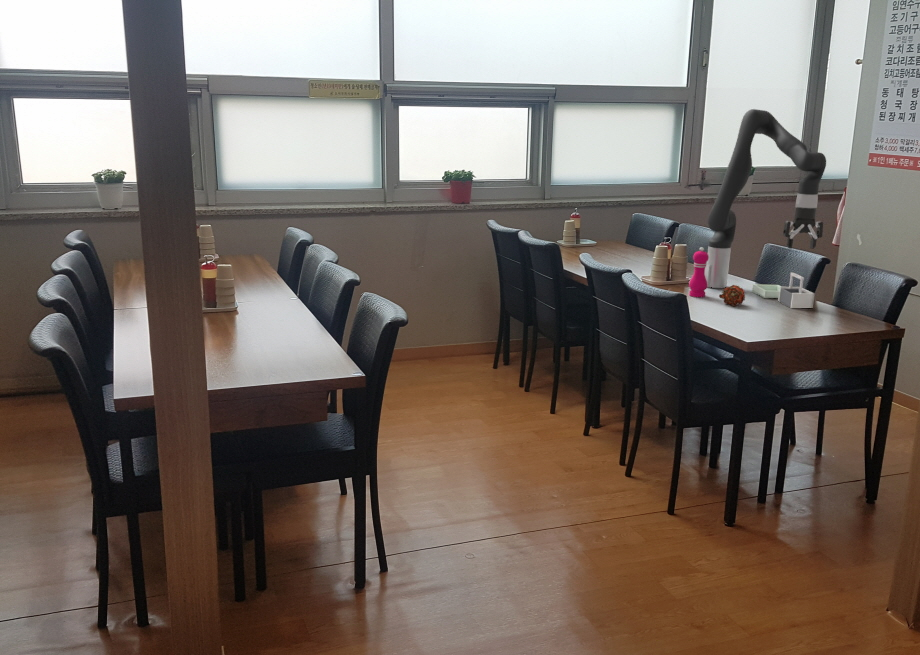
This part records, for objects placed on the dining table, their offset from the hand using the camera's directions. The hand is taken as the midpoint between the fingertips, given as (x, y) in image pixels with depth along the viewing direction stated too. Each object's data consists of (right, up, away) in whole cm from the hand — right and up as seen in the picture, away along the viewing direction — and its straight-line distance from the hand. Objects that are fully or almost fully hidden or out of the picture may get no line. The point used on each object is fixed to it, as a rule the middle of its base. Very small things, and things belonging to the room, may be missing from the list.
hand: (800, 248), depth 307 cm
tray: (-2, -17, +23) cm, 29 cm away
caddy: (0, -22, +6) cm, 22 cm away
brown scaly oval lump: (-25, -22, +4) cm, 34 cm away
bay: (0, -22, +6) cm, 22 cm away
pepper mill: (-34, -18, +19) cm, 43 cm away
